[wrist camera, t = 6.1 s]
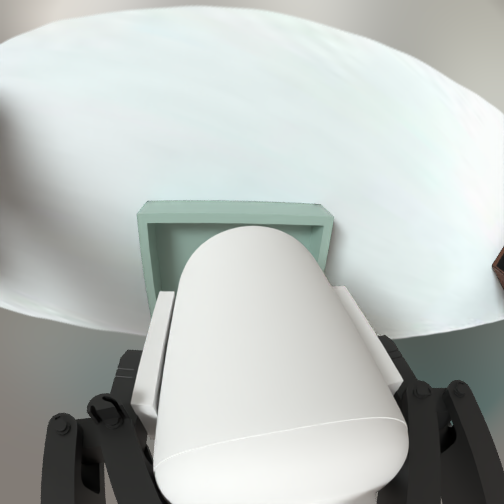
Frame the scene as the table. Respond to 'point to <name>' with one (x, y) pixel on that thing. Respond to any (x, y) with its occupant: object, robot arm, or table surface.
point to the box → (212, 223)
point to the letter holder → (499, 267)
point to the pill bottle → (270, 384)
